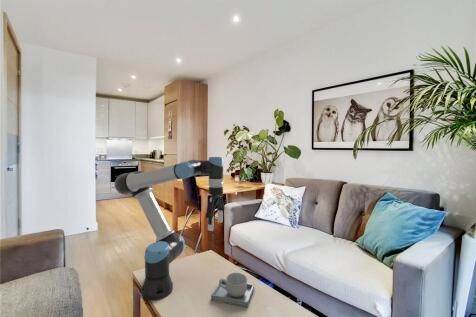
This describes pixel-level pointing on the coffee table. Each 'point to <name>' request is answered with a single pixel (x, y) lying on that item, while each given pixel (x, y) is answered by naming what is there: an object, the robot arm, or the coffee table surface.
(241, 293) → the teacup
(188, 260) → the coffee table surface
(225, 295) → the tray
